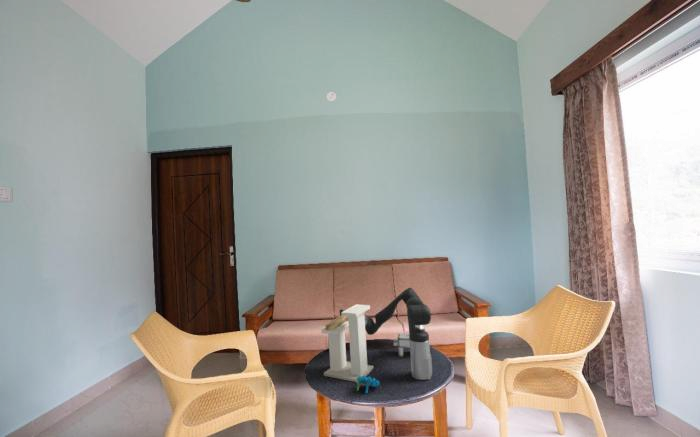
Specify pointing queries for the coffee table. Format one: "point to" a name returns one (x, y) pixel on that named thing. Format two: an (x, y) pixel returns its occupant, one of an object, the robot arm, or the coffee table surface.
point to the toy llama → (405, 341)
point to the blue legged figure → (368, 381)
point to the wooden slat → (336, 322)
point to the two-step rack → (357, 346)
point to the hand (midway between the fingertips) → (347, 311)
